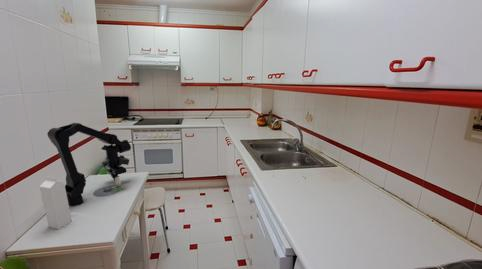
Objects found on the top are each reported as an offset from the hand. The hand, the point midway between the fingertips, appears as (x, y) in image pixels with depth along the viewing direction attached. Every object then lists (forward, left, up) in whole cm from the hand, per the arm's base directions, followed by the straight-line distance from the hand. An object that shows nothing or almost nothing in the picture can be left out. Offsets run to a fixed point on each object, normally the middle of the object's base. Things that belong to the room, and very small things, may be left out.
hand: (115, 180), depth 139 cm
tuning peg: (+1, -5, -2) cm, 5 cm away
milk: (+2, -37, -4) cm, 37 cm away
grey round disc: (0, -7, -4) cm, 8 cm away
